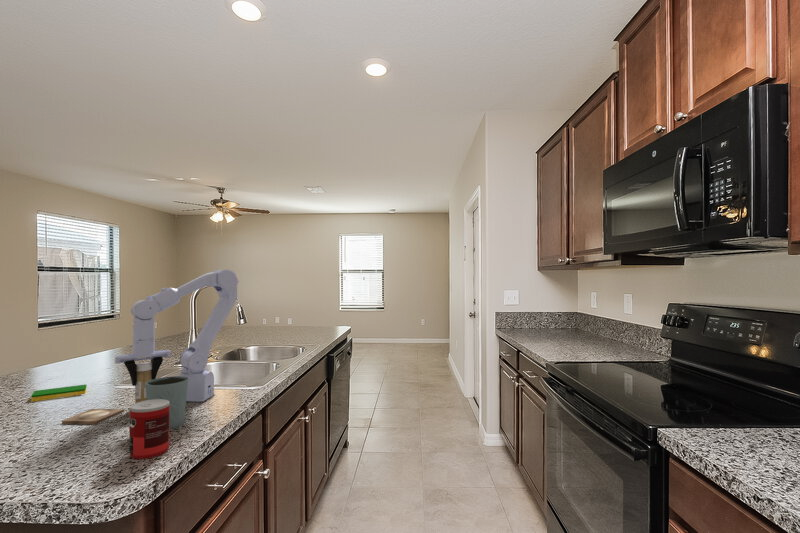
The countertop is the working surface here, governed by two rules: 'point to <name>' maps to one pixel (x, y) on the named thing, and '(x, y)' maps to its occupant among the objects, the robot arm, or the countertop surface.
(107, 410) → the spice coaster
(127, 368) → the robot arm
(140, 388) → the spice jar
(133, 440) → the canned food
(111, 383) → the countertop surface
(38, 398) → the dish sponge
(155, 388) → the grey-green tapered cup
